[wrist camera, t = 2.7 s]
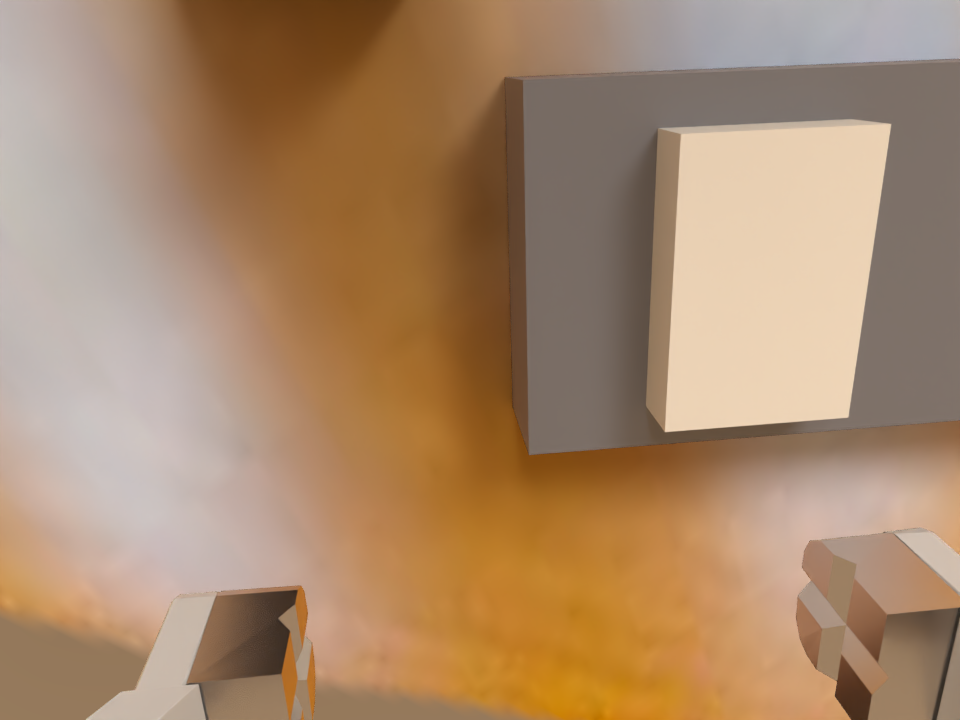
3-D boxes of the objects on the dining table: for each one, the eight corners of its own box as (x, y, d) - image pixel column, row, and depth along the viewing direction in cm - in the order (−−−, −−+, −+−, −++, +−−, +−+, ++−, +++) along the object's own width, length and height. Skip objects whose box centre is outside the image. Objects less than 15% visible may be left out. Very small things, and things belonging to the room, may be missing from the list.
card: (658, 128, 23) (681, 133, 21) (852, 118, 24) (891, 123, 22) (646, 406, 26) (664, 431, 24) (816, 392, 27) (848, 417, 25)
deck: (504, 77, 26) (522, 80, 22) (1120, 52, 28) (1232, 50, 24) (512, 406, 30) (529, 455, 27) (1044, 366, 32) (1130, 406, 28)
